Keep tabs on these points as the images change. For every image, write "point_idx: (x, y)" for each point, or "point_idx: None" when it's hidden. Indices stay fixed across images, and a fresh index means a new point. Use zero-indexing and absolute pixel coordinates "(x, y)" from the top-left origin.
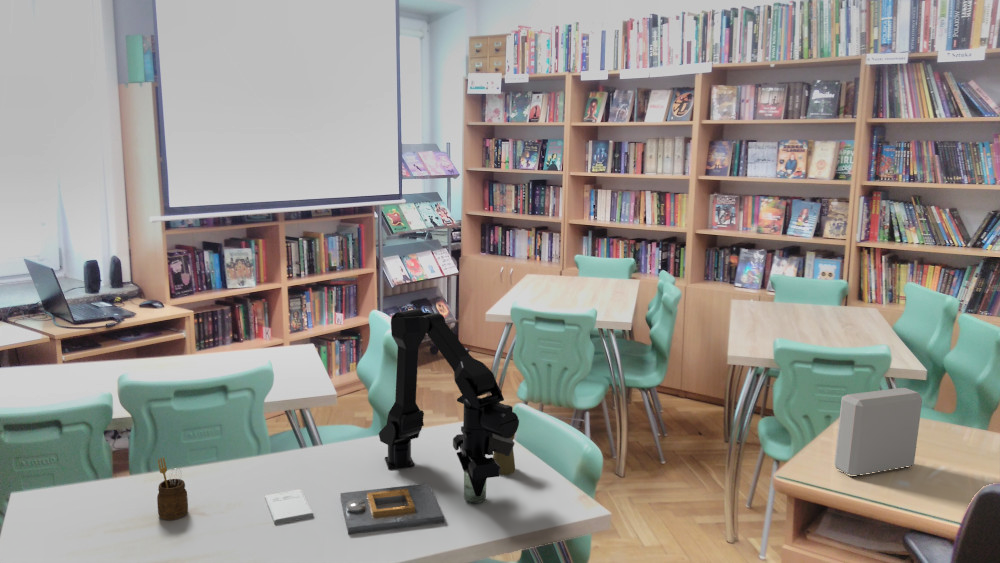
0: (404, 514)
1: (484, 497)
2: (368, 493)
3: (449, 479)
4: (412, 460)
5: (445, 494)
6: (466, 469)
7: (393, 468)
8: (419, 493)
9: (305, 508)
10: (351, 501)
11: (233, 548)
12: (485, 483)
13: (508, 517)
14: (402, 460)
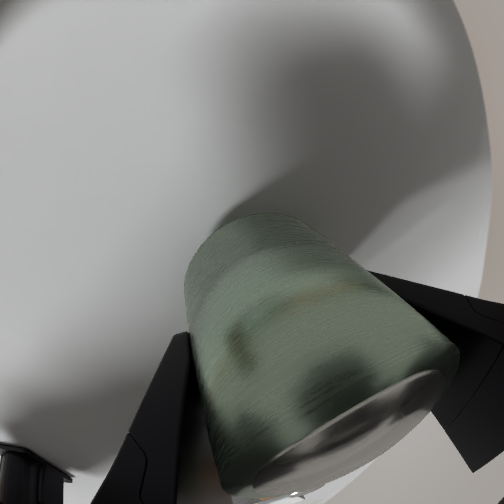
0: None
1: (313, 230)
2: (264, 499)
3: (40, 388)
4: (9, 450)
5: None
6: (477, 468)
7: (66, 475)
8: None
9: (279, 502)
10: (295, 496)
11: (343, 484)
12: (373, 278)
13: (429, 111)
14: (53, 485)
